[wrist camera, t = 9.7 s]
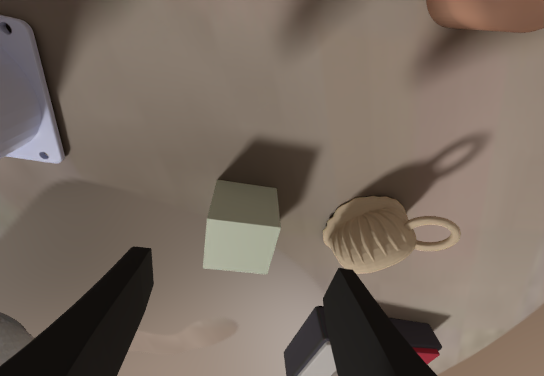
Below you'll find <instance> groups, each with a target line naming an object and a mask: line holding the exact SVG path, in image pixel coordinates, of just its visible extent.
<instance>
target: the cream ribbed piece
mask: <svg viewBox="0 0 544 376" xmlns="http://www.w3.org/2000/svg"><path fill="white" fill-rule="evenodd" d="M422 225H440V226H443V227H446V228H447V229H449V230H450V232H451V235H450V236H449V237H448V238H447V239H445V240H442V241H438V242H422V241H417V240H416V236H415V233H414V230H413V228H415V227H418V226H422ZM460 236H461V232H460V229H459V227H458V226H457V225H456V224H455V223H453V222H452V221H450V220H448V219H445V218H441V217H436V216H423V217H417V218H413V219H411V220H408V217H407V215H406V211H405V209H404V207H403V206H402V205H401V204H400V203H399V201H398V200H396V199H391V198H389V197H386V196H384V197H376V196H369V197H358V198H354V199H352V200H351V201H349V202H348V203H345V204H343V205H341V206H340V207H338V208H337V209H336V211H335V213H334V215H333V217H332V218H330V219H329V220H328V221H327V227H326V228H325V229H324V230H323V240H324V243H325V244H326V245H327V246H328V247H329V248H331V249H332V251H333V253H334V255H335V256H336V258H337V260H338V261H339V263H340V264H341V265H342V266H343V267H344V268H345V269H352V270H353V271H354V272H355V273H357V274H365V273H371V272H375V271H379V270H382V269H385V268H388V267H390V266H392V265H395V264H397V263H399V262H400V261H402V260H404V259H405V258H406V257H407V256H409V255H410V254H411V252H412V251H413V250H414V249H416V250H421V251H438V250H443V249H447V248H449V247H451V246H453V245H454V244H456V243H457V242H458V241H459V239H460Z"/></svg>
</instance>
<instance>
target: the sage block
mask: <svg viewBox="0 0 544 376" xmlns="http://www.w3.org/2000/svg"><path fill="white" fill-rule="evenodd" d="M280 229H281V225H280V215H279V206H278V196H277V188H271V187H264V186H258V185H251V184H244V183H237V182H230V181H223V180H217V182H216V186H215V190H214V194H213V198H212V201H211V205H210V209H209V213H208V217H207V227H206V238H205V250H204V262H203V268H206V269H216V270H226V271H238V272H248V273H258V274H267V273H268V270H269V267H270V263H271V259H272V256H273V252H274V249H275V246H276V242H277V239H278V236H279V232H280Z"/></svg>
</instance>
